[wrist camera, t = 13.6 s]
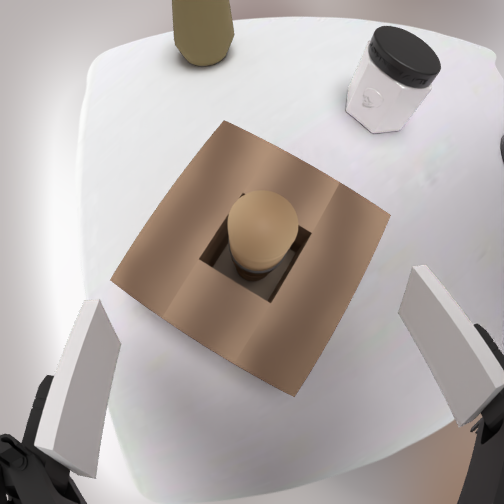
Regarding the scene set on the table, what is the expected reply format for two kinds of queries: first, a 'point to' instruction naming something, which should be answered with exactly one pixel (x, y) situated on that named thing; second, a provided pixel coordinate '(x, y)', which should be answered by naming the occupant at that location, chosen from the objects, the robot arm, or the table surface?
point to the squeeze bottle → (202, 30)
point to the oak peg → (260, 233)
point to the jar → (391, 79)
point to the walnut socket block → (224, 270)
